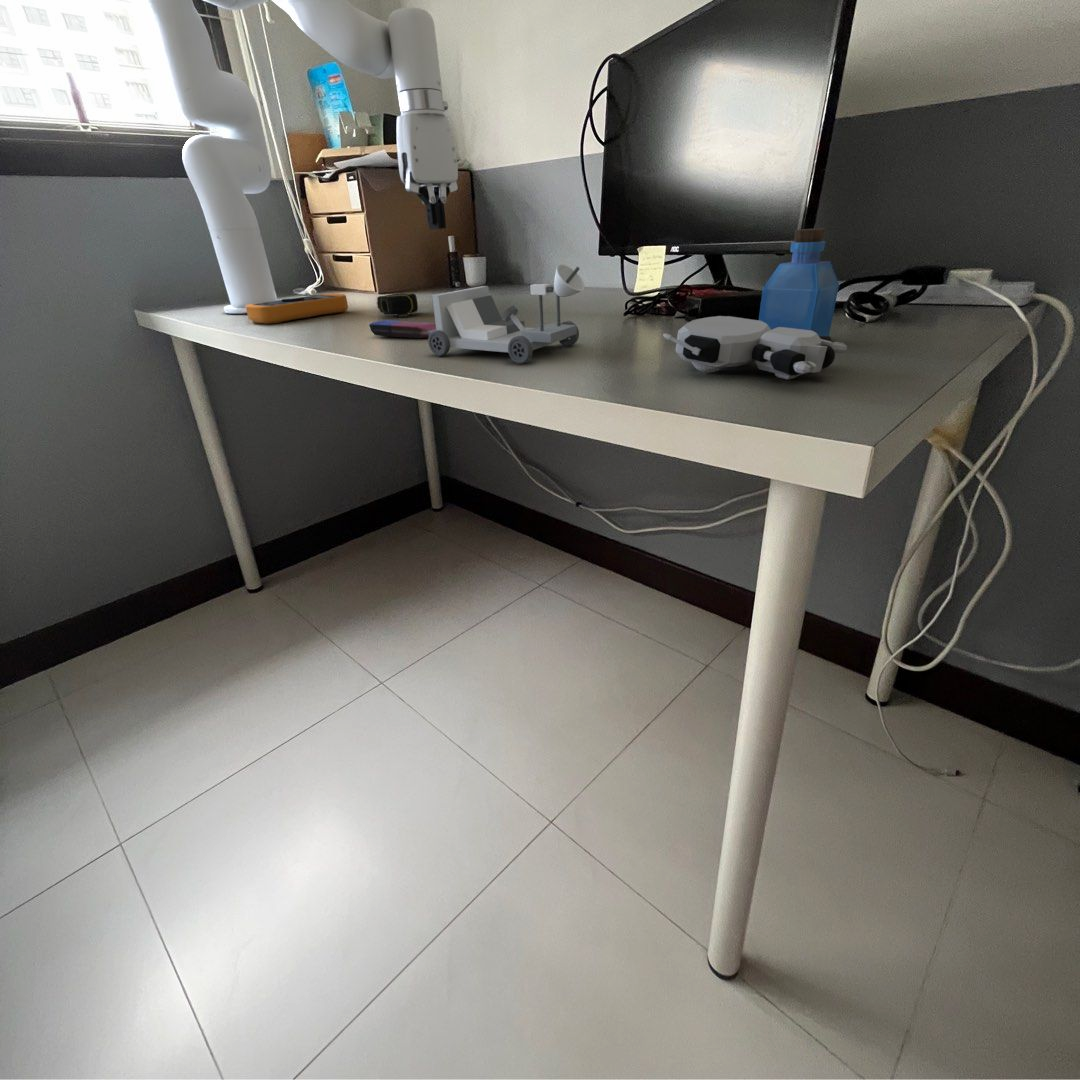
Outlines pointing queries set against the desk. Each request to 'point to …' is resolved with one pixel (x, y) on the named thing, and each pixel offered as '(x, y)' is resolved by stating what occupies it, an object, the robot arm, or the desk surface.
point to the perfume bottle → (802, 288)
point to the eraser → (402, 329)
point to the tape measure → (398, 304)
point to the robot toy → (753, 346)
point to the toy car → (480, 326)
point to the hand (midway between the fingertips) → (437, 228)
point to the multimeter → (296, 308)
